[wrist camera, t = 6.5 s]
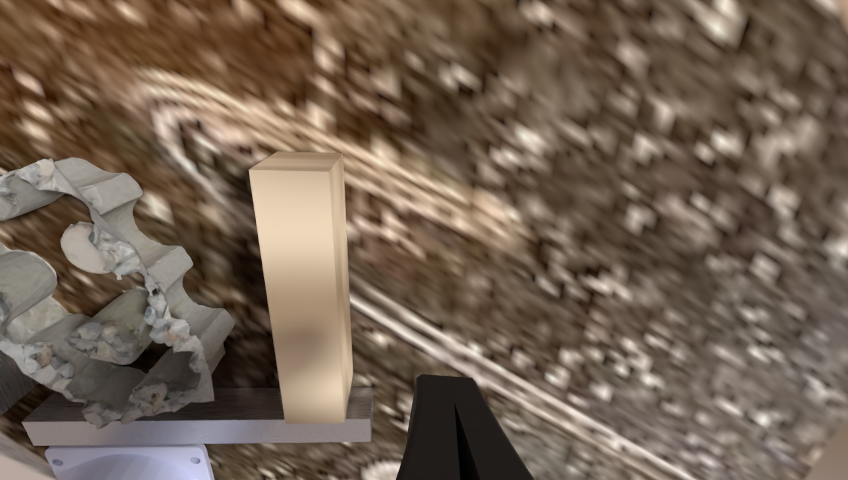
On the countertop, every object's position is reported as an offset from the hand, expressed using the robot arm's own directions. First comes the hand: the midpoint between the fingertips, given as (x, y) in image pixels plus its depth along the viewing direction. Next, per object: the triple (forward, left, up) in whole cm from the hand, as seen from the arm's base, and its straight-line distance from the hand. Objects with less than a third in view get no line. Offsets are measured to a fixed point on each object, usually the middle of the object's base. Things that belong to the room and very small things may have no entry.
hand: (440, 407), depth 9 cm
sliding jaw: (-1, +5, -8) cm, 10 cm away
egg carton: (-1, +13, -9) cm, 16 cm away
